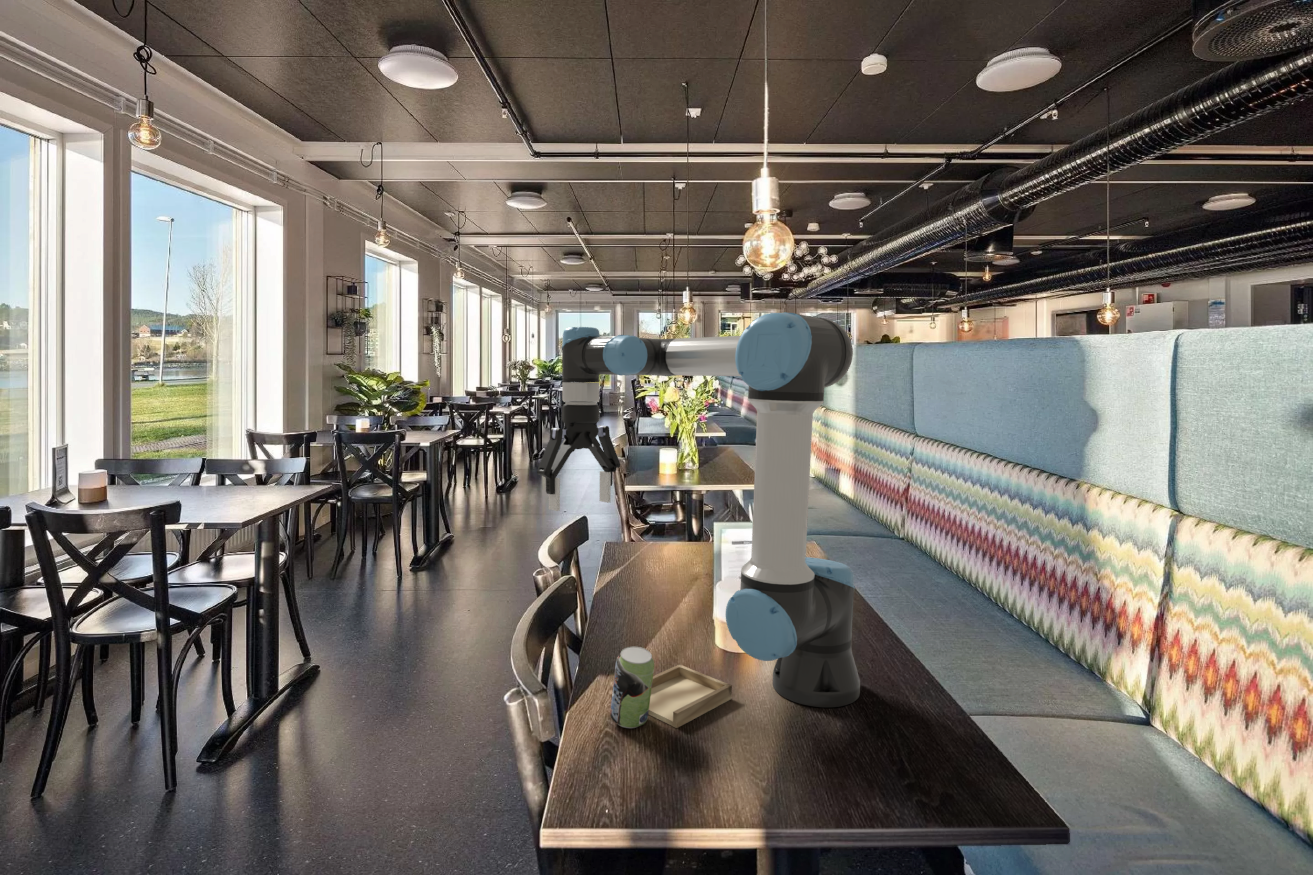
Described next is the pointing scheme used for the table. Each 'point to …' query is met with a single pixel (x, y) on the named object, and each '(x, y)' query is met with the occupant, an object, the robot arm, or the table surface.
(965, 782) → the table surface
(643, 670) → the beverage can
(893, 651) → the table surface
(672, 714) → the beige tray
